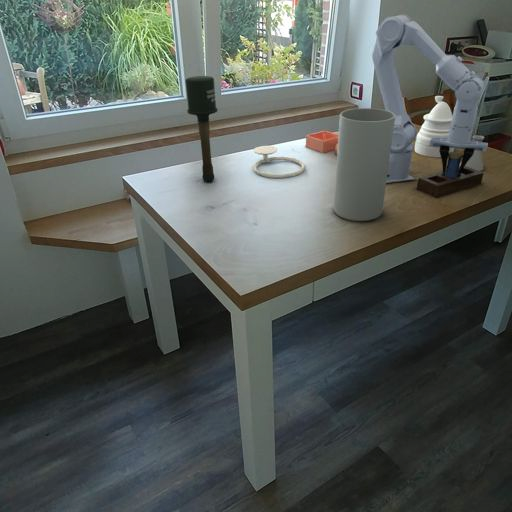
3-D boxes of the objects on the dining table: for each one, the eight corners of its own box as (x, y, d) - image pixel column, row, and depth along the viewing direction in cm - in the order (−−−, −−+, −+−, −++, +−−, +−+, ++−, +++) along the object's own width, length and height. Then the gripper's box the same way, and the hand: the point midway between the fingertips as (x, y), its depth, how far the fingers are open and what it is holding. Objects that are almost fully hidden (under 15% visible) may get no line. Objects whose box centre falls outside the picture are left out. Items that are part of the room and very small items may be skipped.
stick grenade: (218, 186, 132) (210, 81, 116) (191, 185, 134) (179, 81, 118) (225, 176, 139) (218, 75, 123) (199, 174, 141) (189, 75, 125)
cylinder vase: (348, 197, 122) (356, 105, 109) (390, 209, 115) (404, 112, 102) (324, 214, 114) (330, 116, 101) (368, 227, 107) (380, 124, 94)
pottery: (305, 146, 162) (306, 119, 156) (324, 141, 166) (325, 115, 161) (341, 159, 149) (343, 130, 144) (360, 153, 154) (363, 125, 149)
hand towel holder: (272, 169, 131) (237, 151, 146) (272, 183, 133) (238, 164, 148) (316, 157, 138) (278, 141, 153) (315, 170, 141) (278, 153, 156)
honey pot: (406, 149, 156) (414, 96, 147) (434, 143, 161) (443, 92, 151) (433, 159, 146) (443, 104, 137) (461, 153, 151) (473, 99, 141)
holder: (416, 189, 126) (418, 177, 124) (460, 176, 133) (463, 165, 132) (436, 197, 121) (438, 186, 119) (480, 183, 128) (483, 172, 126)
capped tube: (447, 187, 125) (453, 156, 120) (439, 182, 128) (445, 152, 123) (459, 185, 125) (466, 155, 121) (451, 181, 129) (457, 151, 124)
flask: (480, 173, 134) (488, 141, 129) (455, 169, 138) (462, 138, 133) (486, 166, 139) (494, 135, 134) (462, 162, 143) (469, 132, 138)
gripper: (492, 123, 118) (480, 171, 125) (435, 119, 123) (426, 165, 131) (491, 130, 113) (479, 180, 120) (432, 125, 118) (423, 173, 125)
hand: (451, 173), depth 125 cm, fingers closed on capped tube, 3 cm apart
